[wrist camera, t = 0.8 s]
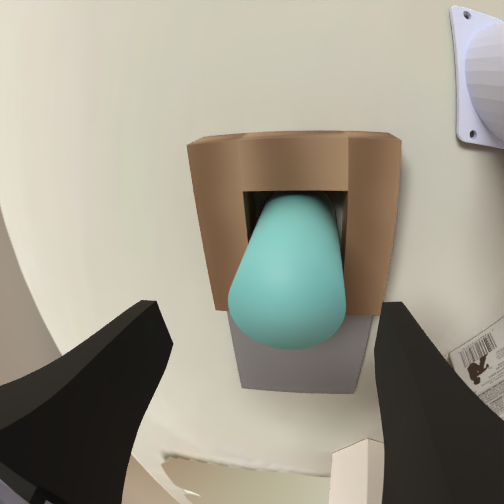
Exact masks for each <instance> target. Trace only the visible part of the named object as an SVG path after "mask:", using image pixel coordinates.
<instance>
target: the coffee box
mask: <svg viewBox="0 0 504 504" xmlns="http://www.w3.org/2000/svg"><path fill="white" fill-rule="evenodd" d="M449 358H450V361H451V365H452V368H453V369H454V370H455V372H456V373H457V374H458V375H459V376H460V378H461V379H462V380H463V381H464V382H465V383H466V384H467V385H468V387H469V388H470V389H471V390H472V391H473V392H474V393H475V394H476V395H477V396H478V397H479V398H480V399H481V400H482V401H483V402H484V403H485V404H486V405H487V406H488V407H489V408H490V409H491V410H492V411H493V412H495V413H496V414H497V415H498V416H499V417H500V418H501V419H503V420H504V317H503V318H501V319H500V320H499V321H497V322H496V323H495V324H493V325H492V326H490V327H489V328H488V329H486V330H485V331H483V332H482V333H480V334H479V335H477V336H476V337H474V338H473V339H471V340H470V341H468V342H466V343H465V344H463V345H462V346H460V347H459V348H457V349H455V350H454V351H452V352H450V354H449Z"/></svg>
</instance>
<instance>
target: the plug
mask: <svg viewBox="0 0 504 504" xmlns="http://www.w3.org/2000/svg"><path fill="white" fill-rule="evenodd" d="M228 307H229V311H230V314H231V316H232V318H233V320H234V322H235V323H236V325H237V326H238V327H239V328H240V329H241V330H242V331H243V332H244V333H245V334H246V335H247V336H249V337H250V338H252V339H253V340H255V341H257V342H259V343H261V344H264V345H266V346H270V347H273V348H278V349H287V350H295V349H304V348H308V347H312V346H315V345H317V344H320V343H322V342H323V341H325V340H327V339H328V338H330V337H331V336H332V335H333V334H334V333H335V332H336V331H337V330H338V329H339V327H340V326H341V324H342V322H343V320H344V317H345V313H346V298H345V288H344V278H343V269H342V261H341V252H340V245H339V237H338V230H337V223H336V216H335V210H334V207H333V204H332V202H331V201H330V199H329V198H328V197H327V195H326V194H325V193H324V192H322V191H321V190H290V191H274V192H273V193H272V194H271V195H270V196H269V198H268V199H267V201H266V203H265V205H264V207H263V210H262V212H261V215H260V217H259V220H258V222H257V224H256V227H255V229H254V232H253V234H252V236H251V239H250V241H249V244H248V246H247V249H246V251H245V253H244V256H243V258H242V261H241V263H240V266H239V268H238V270H237V273H236V275H235V278H234V280H233V283H232V285H231V287H230V290H229V294H228Z"/></svg>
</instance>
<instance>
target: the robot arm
mask: <svg viewBox="0 0 504 504" xmlns="http://www.w3.org/2000/svg"><path fill="white" fill-rule="evenodd" d="M463 12H464V13H466V14H467V16H468V19H466V18H465V17H464V15H463ZM449 13H450V19H451V26H452V34H453V42H454V53H455V66H456V87H457V123H456V134H457V137H458V138H459V139H460V140H461V141H463V142H466V143H472V144H478V145H484V146H490V147H495V148H500V149H504V21H502V20H500V19H497V18H495V17H492V16H489V15H486V14H484V13H481V12H478V11H475V10H471V9H468V8H465V7H461V6H458V5H455V6H452V7H451V8H450V11H449ZM472 130H473V132H474V136H473V137H472V138H470V132H471V131H472ZM172 347H173V342H172V339H171V337H170V334H169V332H168V329H167V327H166V325H165V322H164V320H163V317H162V314H161V312H160V309H159V307H158V304H157V301H148V300H141V301H140V302H138V303H136V304H135V305H133V306H132V307H130V308H129V309H127V310H126V311H125V312H123V313H122V314H121V315H119V316H118V317H116V318H115V319H114V320H112V321H111V322H110V323H108V324H107V325H106V326H104V327H103V328H102V329H100V330H99V331H98V332H96V333H95V334H94V335H92V336H91V337H89V338H88V339H87V340H85V341H84V342H82V343H81V344H79V345H78V346H76V347H75V348H74V349H72V350H71V351H69V352H68V353H66V354H65V355H63V356H61V357H60V358H58V359H57V360H55V361H53V362H51V363H50V364H48V365H46V366H44V367H42V368H41V369H39V370H37V371H35V372H32V373H30V374H28V375H26V376H24V377H22V378H20V379H17V380H15V381H12V382H10V383H7V384H4V385H2V386H0V504H121V502H122V494H123V487H124V482H125V476H126V471H127V466H128V463H129V458H130V455H131V451H132V448H133V444H134V441H135V438H136V435H137V432H138V428H139V426H140V423H141V421H142V418H143V416H144V414H145V412H146V410H147V408H148V406H149V403H150V401H151V399H152V397H153V395H154V393H155V391H156V389H157V387H158V384H159V382H160V380H161V378H162V376H163V374H164V371H165V369H166V366H167V363H168V360H169V357H170V354H171V350H172ZM374 358H375V377H376V385H377V392H378V399H379V406H380V413H381V420H382V429H383V437H384V479H383V493H382V504H504V420H503V419H501V418H500V417H499V416H498V415H497V414H496V413H495V412H493V411H492V410H491V409H490V408H489V407H488V406H487V405H486V404H485V403H484V402H483V401H482V400H481V399H480V398H479V397H478V396H477V395H476V394H475V393H474V392H473V391H472V390H471V389H470V388H469V387H468V385H467V384H466V383H465V382H464V381H463V380H462V379H461V378H460V376H459V375H458V374H457V373H456V372H455V370H454V369H453V368H452V367H451V366H450V365H449V363H448V362H447V361H446V360H445V358H444V357H443V356H442V355H441V353H440V352H439V351H438V349H437V348H436V347H435V345H434V344H433V343H432V342H431V340H430V339H429V338H428V336H427V335H426V334H425V332H424V331H423V330H422V328H421V327H420V326H419V324H418V323H417V321H416V320H415V319H414V317H413V316H412V315H411V313H410V312H409V310H408V309H407V308H406V306H405V305H404V304H403V303H402V302H382V307H381V313H380V320H379V326H378V331H377V337H376V342H375V348H374Z"/></svg>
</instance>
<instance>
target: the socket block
mask: <svg viewBox="0 0 504 504" xmlns="http://www.w3.org/2000/svg"><path fill="white" fill-rule="evenodd" d="M401 142H402V141H401V140H400V139H398V138H396V137H395V136H393V135H391V134H390V133H382V132H362V131H279V132H258V133H242V134H230V135H218V136H208V137H203V138H200V139H198V140H196V141H194V142H192V143H190V144H188V145H187V151H188V158H189V164H190V171H191V177H192V184H193V190H194V196H195V202H196V208H197V214H198V220H199V226H200V231H201V237H202V242H203V248H204V253H205V258H206V264H207V269H208V274H209V279H210V284H211V289H212V294H213V299H214V304H215V309H216V310H220V311H229V307H228V294H229V290H230V287H231V285H232V283H233V280H234V278H235V275H236V273H237V270H238V268H239V266H240V263H241V261H242V258H243V256H244V253H245V251H246V249H247V246H248V244H249V241H250V239H251V236H252V234H253V232H254V229H255V227H256V214H255V203H254V192H253V191H290V190H326V191H343V214H342V238H341V261H342V269H343V278H344V288H345V298H346V313H345V315H380V313H381V307H382V302H383V301H384V296H385V291H386V285H387V280H388V274H389V268H390V262H391V255H392V248H393V241H394V233H395V225H396V216H397V207H398V196H399V183H400V167H401Z"/></svg>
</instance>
